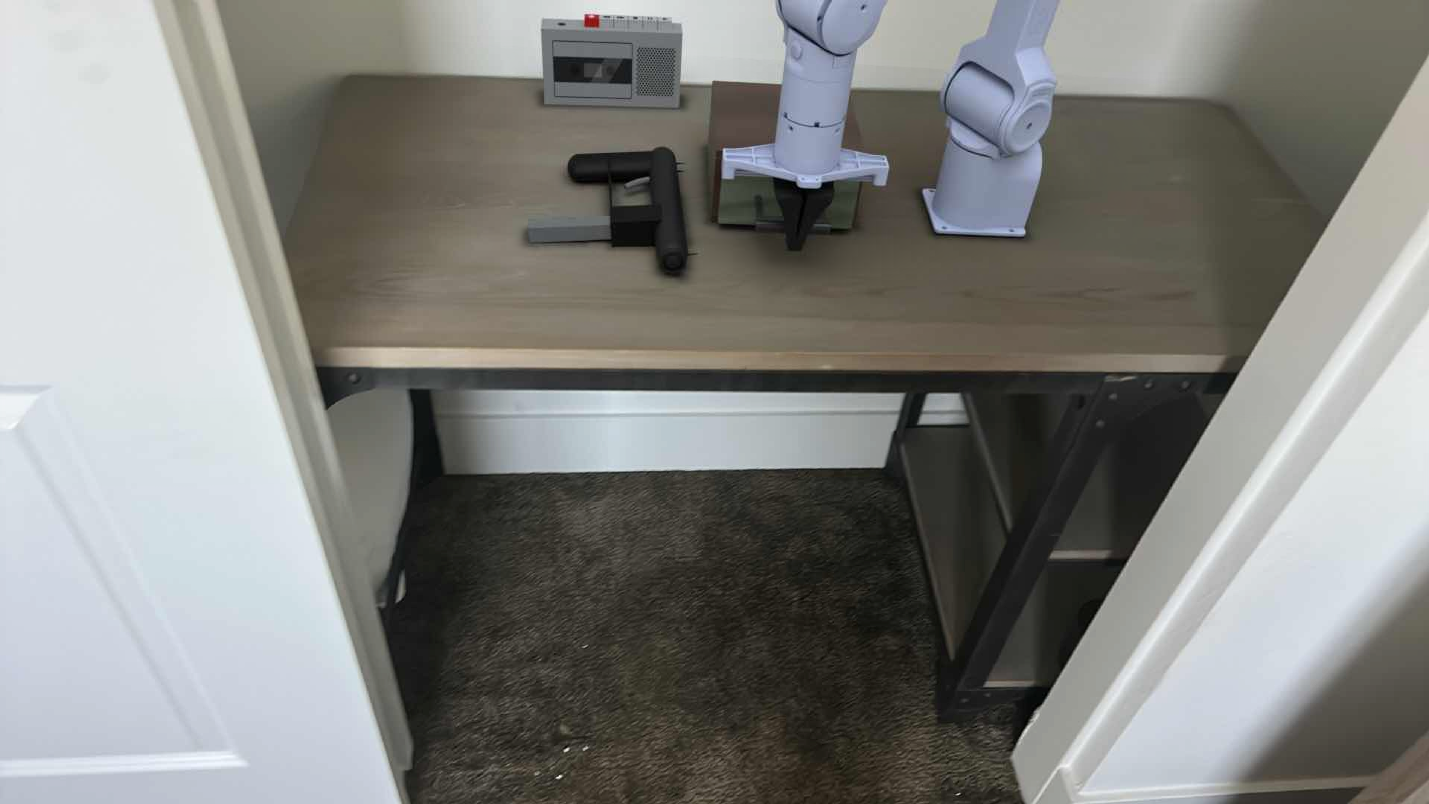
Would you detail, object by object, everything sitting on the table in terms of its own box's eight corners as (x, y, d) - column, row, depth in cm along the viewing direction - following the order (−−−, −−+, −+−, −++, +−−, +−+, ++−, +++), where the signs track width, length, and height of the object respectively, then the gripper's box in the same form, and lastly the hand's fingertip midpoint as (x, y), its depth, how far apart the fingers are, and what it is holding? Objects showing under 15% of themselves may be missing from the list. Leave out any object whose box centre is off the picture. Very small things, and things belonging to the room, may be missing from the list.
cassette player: (544, 104, 120) (540, 19, 113) (545, 93, 122) (541, 9, 115) (679, 107, 122) (683, 24, 115) (677, 97, 123) (681, 14, 117)
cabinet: (853, 227, 105) (867, 156, 100) (710, 221, 104) (716, 149, 99) (837, 154, 116) (848, 87, 110) (707, 148, 115) (712, 80, 110)
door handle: (524, 257, 94) (701, 249, 95) (531, 146, 108) (685, 140, 109) (528, 286, 96) (701, 278, 97) (535, 174, 110) (685, 168, 112)
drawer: (858, 260, 100) (869, 204, 95) (719, 254, 99) (724, 197, 94) (836, 160, 113) (844, 106, 109) (714, 154, 112) (718, 100, 108)
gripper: (729, 130, 84) (717, 267, 93) (905, 138, 85) (876, 273, 94) (725, 90, 89) (715, 223, 98) (891, 98, 90) (865, 229, 99)
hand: (793, 245), depth 97 cm, fingers closed, pressing on drawer
